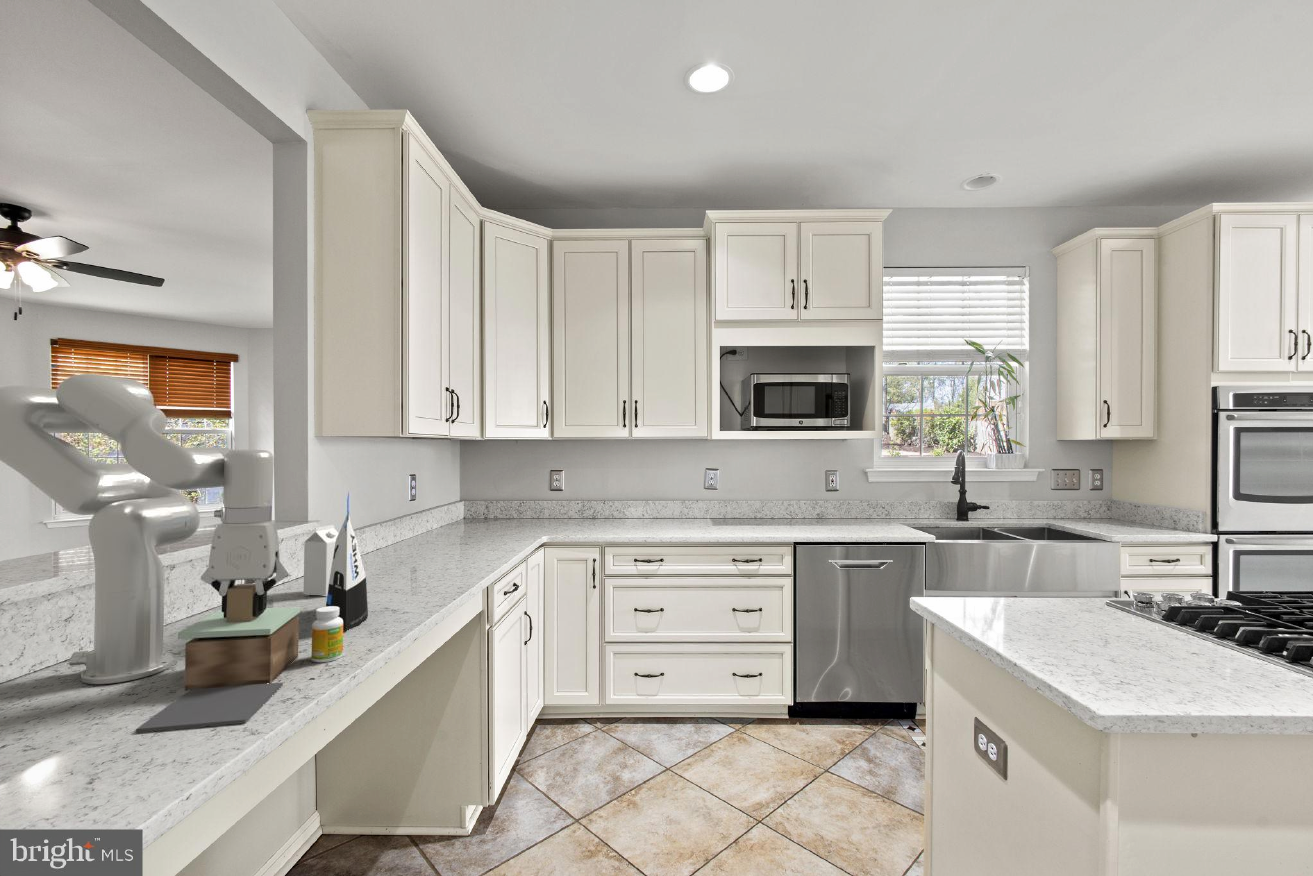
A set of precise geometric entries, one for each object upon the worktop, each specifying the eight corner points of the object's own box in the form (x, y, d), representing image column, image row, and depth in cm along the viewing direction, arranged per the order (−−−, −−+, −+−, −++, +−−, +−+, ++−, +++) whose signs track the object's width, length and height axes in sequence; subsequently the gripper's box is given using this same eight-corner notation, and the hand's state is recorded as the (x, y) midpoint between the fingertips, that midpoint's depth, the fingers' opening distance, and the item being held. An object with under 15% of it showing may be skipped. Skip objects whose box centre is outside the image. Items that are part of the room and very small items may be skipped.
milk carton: (303, 595, 161) (304, 527, 161) (321, 589, 168) (322, 524, 168) (325, 597, 160) (327, 528, 160) (343, 590, 167) (344, 525, 167)
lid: (177, 638, 98) (179, 597, 98) (219, 614, 112) (220, 578, 112) (270, 634, 102) (271, 594, 102) (300, 611, 115) (301, 576, 115)
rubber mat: (136, 733, 84) (136, 729, 84) (189, 693, 98) (189, 689, 98) (245, 723, 87) (245, 719, 87) (282, 685, 101) (282, 682, 101)
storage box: (184, 690, 99) (185, 643, 99) (222, 662, 112) (223, 620, 112) (270, 683, 102) (270, 638, 102) (298, 657, 114) (298, 616, 115)
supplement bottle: (328, 664, 111) (329, 613, 111) (304, 661, 112) (305, 611, 112) (348, 654, 116) (349, 605, 117) (325, 652, 117) (326, 604, 118)
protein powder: (367, 603, 154) (368, 490, 154) (369, 629, 132) (370, 498, 133) (326, 608, 149) (327, 491, 150) (321, 635, 128) (323, 499, 128)
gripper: (183, 519, 102) (179, 623, 101) (290, 518, 105) (286, 619, 105) (206, 513, 109) (202, 611, 109) (305, 513, 113) (301, 608, 112)
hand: (244, 614), depth 107 cm, fingers closed on lid, 4 cm apart
